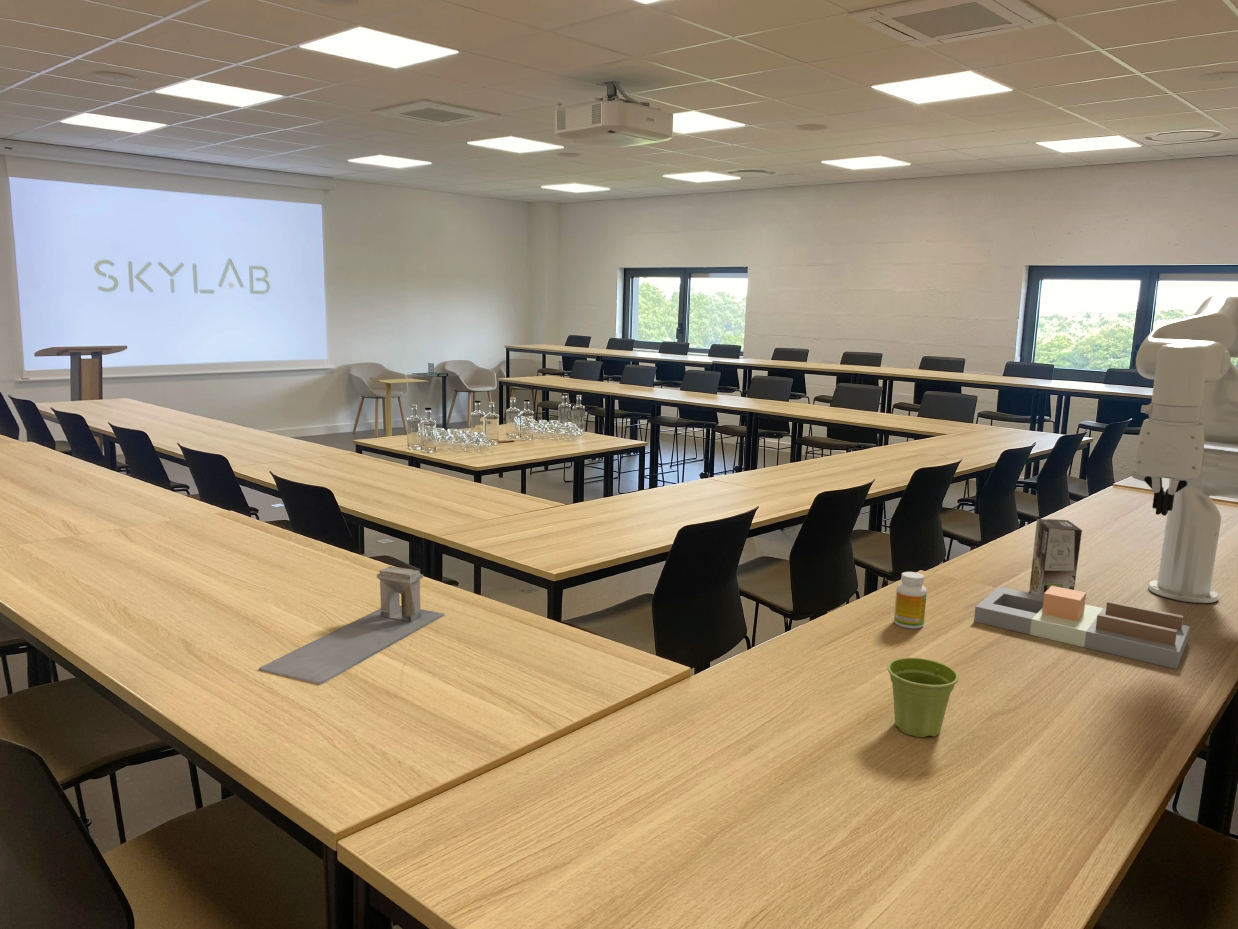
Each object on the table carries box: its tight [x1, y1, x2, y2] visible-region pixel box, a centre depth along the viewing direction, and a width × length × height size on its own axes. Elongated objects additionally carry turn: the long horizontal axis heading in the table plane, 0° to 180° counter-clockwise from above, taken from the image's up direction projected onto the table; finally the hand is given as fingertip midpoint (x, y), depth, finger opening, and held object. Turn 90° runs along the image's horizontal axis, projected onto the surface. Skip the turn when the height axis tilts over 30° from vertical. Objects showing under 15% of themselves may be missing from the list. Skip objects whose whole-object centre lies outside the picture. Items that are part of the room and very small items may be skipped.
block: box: [1042, 586, 1087, 621], centre depth 161 cm, size 6×6×4 cm
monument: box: [258, 565, 445, 686], centre depth 148 cm, size 12×33×10 cm, turn 158°
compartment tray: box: [973, 586, 1191, 670], centre depth 160 cm, size 16×33×6 cm, turn 51°
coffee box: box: [1028, 518, 1083, 596], centre depth 178 cm, size 9×6×16 cm
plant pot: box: [886, 656, 960, 738], centre depth 121 cm, size 9×9×9 cm
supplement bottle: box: [893, 571, 928, 630], centre depth 161 cm, size 5×5×10 cm
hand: (1161, 513), depth 157 cm, fingers closed
